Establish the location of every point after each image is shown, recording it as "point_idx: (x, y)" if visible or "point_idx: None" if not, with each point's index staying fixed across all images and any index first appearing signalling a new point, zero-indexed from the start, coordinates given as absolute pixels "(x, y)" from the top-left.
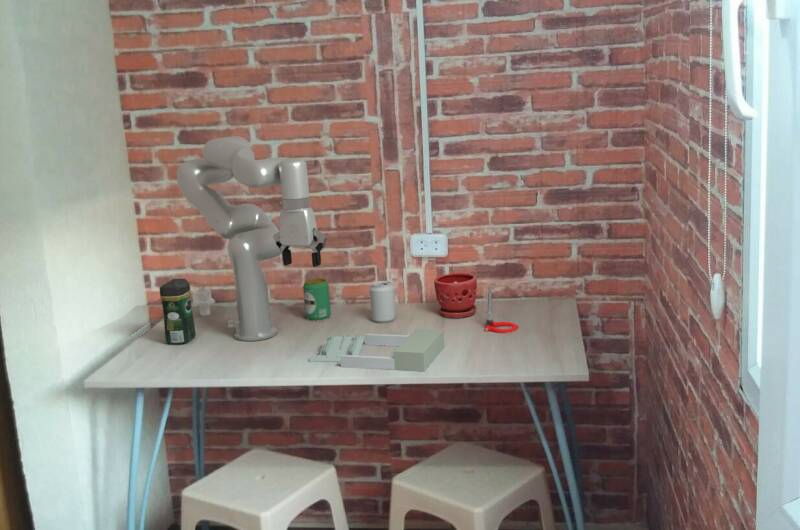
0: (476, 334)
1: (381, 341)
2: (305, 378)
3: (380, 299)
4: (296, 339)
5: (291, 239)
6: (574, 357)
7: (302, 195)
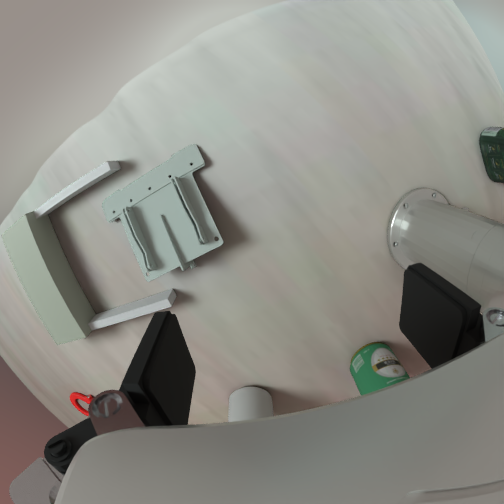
0: (87, 383)
1: (141, 302)
2: (136, 77)
3: (239, 419)
4: (333, 248)
5: (459, 456)
6: None
7: None
